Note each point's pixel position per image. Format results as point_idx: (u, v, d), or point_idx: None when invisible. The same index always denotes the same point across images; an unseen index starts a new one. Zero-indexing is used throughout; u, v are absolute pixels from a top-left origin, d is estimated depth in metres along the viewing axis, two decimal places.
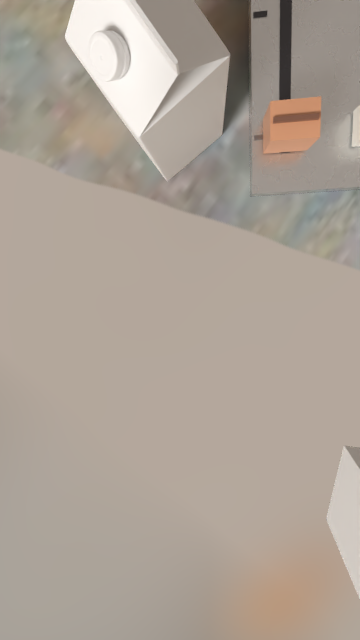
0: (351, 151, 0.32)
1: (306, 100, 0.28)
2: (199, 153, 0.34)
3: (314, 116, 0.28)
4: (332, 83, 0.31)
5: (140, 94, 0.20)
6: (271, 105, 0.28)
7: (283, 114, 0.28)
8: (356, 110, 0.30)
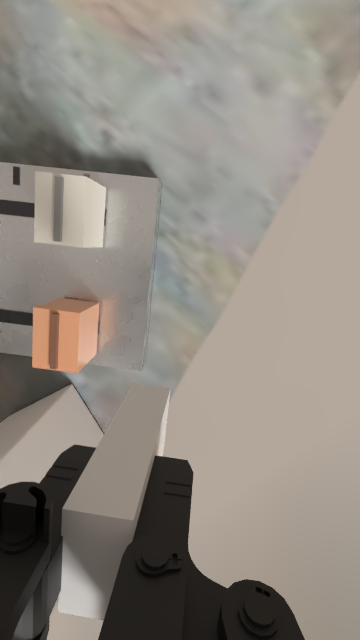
0: (108, 246, 0.25)
1: (35, 325, 0.22)
2: (88, 414, 0.29)
3: (54, 319, 0.21)
4: (29, 264, 0.25)
5: None
6: (37, 366, 0.22)
7: (48, 354, 0.22)
8: None
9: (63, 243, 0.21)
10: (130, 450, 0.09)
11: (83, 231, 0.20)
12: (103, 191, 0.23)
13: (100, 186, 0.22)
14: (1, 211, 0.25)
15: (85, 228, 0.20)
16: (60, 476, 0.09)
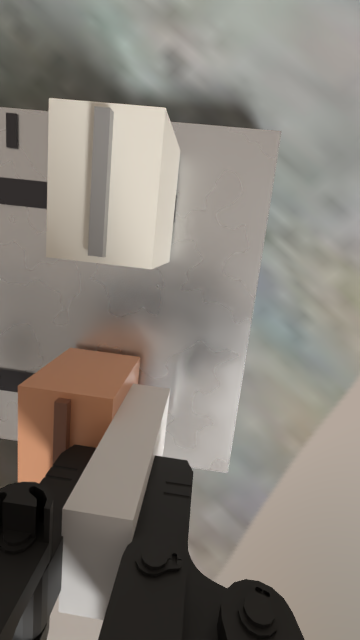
0: (178, 259, 0.14)
1: (23, 420, 0.11)
2: None
3: (60, 413, 0.10)
4: (35, 291, 0.14)
5: None
6: None
7: None
8: None
9: (109, 260, 0.09)
10: (130, 450, 0.09)
11: (155, 234, 0.09)
12: (178, 156, 0.12)
13: (176, 143, 0.11)
14: None
15: (156, 226, 0.09)
16: (60, 476, 0.09)
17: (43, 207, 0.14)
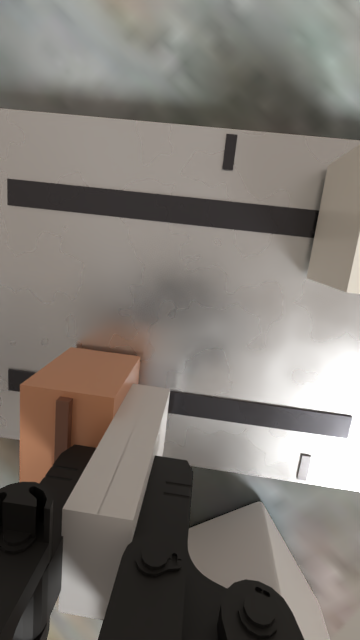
0: None
1: (25, 419, 0.11)
2: (287, 550, 0.18)
3: (62, 412, 0.10)
4: (233, 315, 0.14)
5: None
6: None
7: None
8: None
9: None
10: (130, 450, 0.09)
11: None
12: None
13: None
14: (193, 220, 0.13)
15: None
16: (60, 476, 0.09)
17: (254, 230, 0.13)
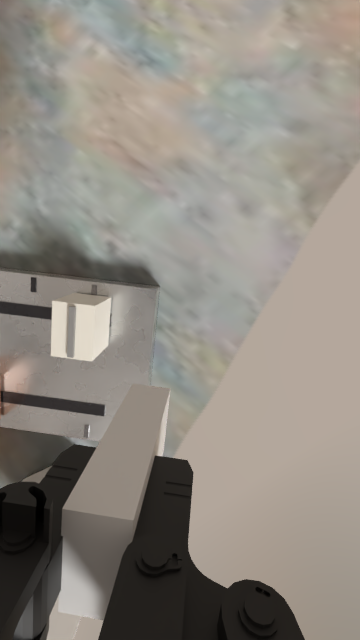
0: (113, 343, 0.28)
1: None
2: None
3: None
4: (44, 357, 0.29)
5: None
6: None
7: None
8: None
9: (75, 357, 0.24)
10: (130, 450, 0.09)
11: (93, 348, 0.24)
12: (109, 302, 0.27)
13: (106, 301, 0.26)
14: (20, 313, 0.28)
15: (94, 345, 0.24)
16: (60, 476, 0.09)
17: (48, 318, 0.28)
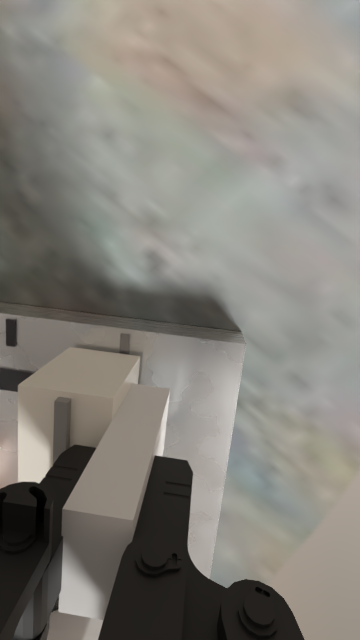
0: None
1: None
2: None
3: None
4: None
5: None
6: None
7: None
8: None
9: None
10: (130, 450, 0.09)
11: None
12: (137, 367, 0.14)
13: (133, 369, 0.13)
14: None
15: None
16: (60, 476, 0.09)
17: None
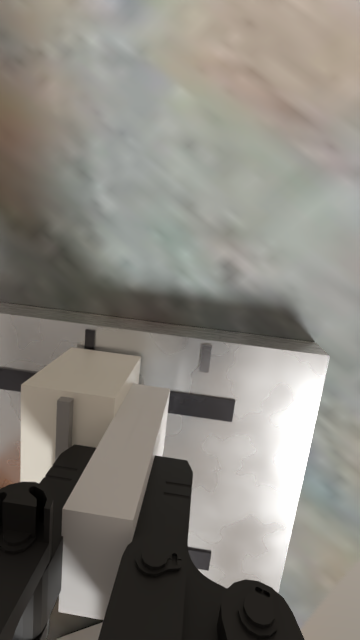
0: (234, 450, 0.15)
1: None
2: None
3: None
4: None
5: None
6: None
7: None
8: None
9: None
10: (130, 450, 0.09)
11: None
12: (138, 367, 0.14)
13: (134, 369, 0.13)
14: None
15: None
16: (60, 476, 0.09)
17: None
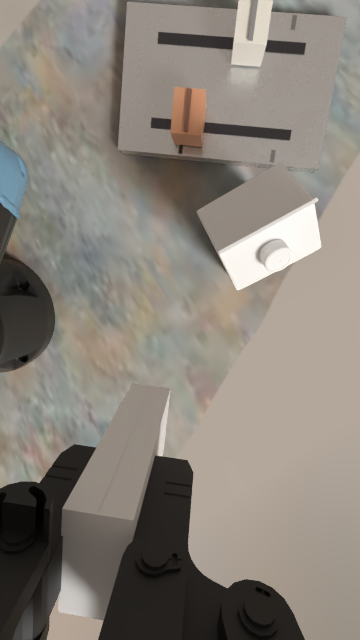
0: (304, 70, 0.35)
1: (175, 100, 0.33)
2: None
3: (189, 93, 0.32)
4: (244, 87, 0.36)
5: (302, 237, 0.25)
6: (173, 132, 0.33)
7: (182, 121, 0.33)
8: (232, 61, 0.35)
9: (253, 42, 0.31)
10: (130, 450, 0.09)
11: None
12: None
13: None
14: (229, 46, 0.35)
15: None
16: (60, 476, 0.09)
17: None
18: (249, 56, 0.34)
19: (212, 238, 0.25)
